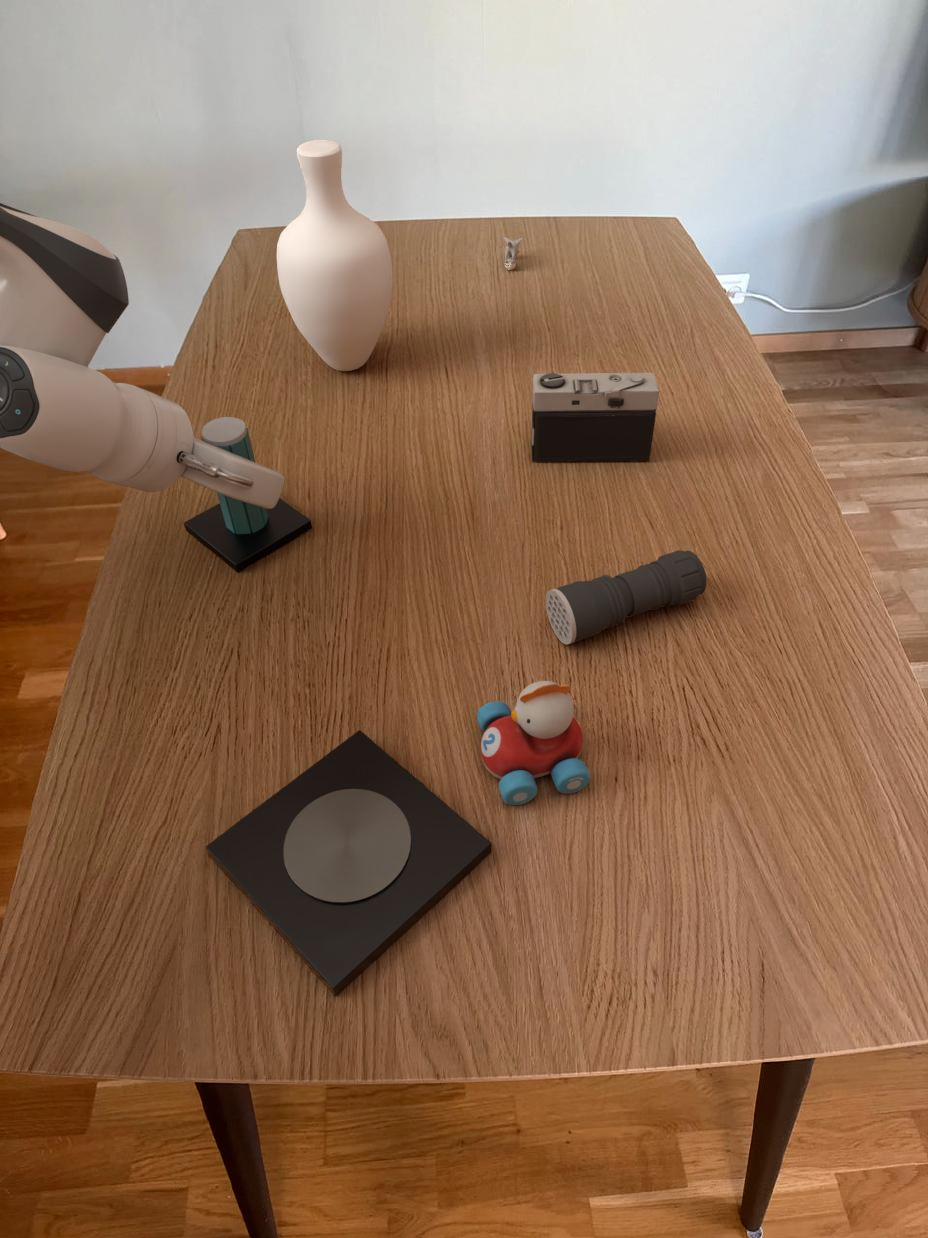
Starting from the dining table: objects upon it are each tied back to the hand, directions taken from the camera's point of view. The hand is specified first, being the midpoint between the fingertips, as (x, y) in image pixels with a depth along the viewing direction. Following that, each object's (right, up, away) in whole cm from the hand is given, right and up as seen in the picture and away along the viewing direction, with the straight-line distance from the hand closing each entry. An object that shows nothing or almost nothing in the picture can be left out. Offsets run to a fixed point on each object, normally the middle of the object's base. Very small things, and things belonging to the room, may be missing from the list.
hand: (239, 472), depth 96 cm
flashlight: (+39, -15, -6) cm, 43 cm away
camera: (+39, +6, +14) cm, 42 cm away
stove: (+15, -34, -24) cm, 44 cm away
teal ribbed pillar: (0, -5, +4) cm, 6 cm away
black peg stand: (0, -6, +5) cm, 7 cm away
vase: (+8, +19, +29) cm, 36 cm away
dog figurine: (+31, +41, +49) cm, 71 cm away
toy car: (+29, -27, -17) cm, 44 cm away
